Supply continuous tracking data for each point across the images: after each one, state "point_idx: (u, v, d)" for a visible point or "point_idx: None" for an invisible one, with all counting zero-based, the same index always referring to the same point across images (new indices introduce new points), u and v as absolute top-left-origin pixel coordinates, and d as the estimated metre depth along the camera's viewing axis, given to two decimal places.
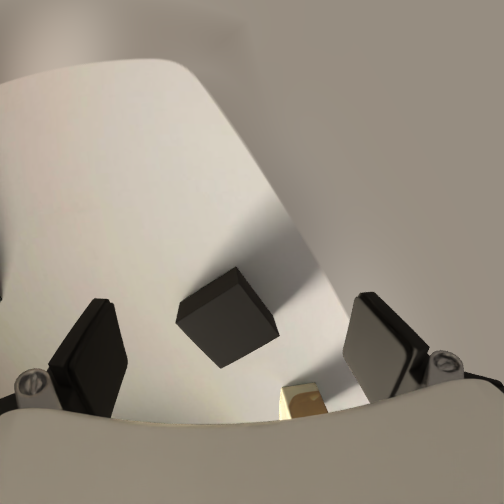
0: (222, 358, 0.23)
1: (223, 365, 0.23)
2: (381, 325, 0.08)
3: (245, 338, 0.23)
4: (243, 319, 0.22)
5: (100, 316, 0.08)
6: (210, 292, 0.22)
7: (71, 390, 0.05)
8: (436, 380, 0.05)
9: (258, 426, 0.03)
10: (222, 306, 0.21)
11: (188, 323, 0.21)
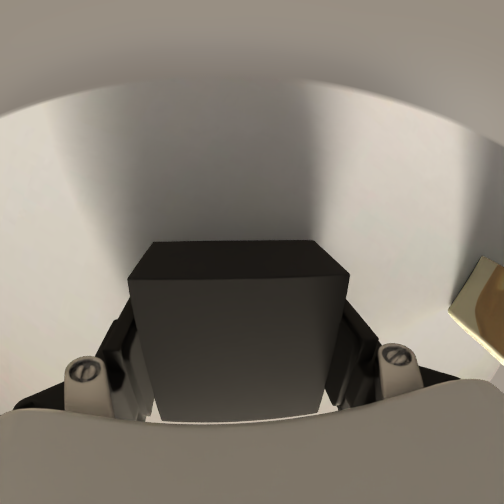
0: (298, 403, 0.09)
1: (315, 407, 0.09)
2: None
3: (291, 348, 0.08)
4: (233, 325, 0.08)
5: None
6: None
7: (124, 375, 0.06)
8: (390, 376, 0.06)
9: (258, 426, 0.03)
10: (168, 345, 0.08)
11: (174, 409, 0.09)
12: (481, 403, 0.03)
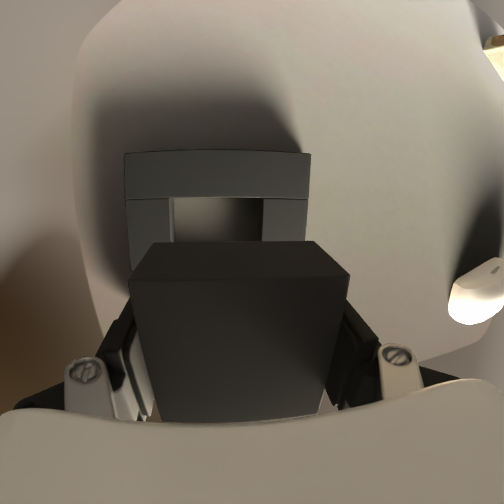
0: (298, 403, 0.09)
1: (315, 407, 0.09)
2: None
3: (291, 348, 0.08)
4: (233, 326, 0.08)
5: None
6: None
7: (124, 375, 0.06)
8: (390, 376, 0.06)
9: (258, 426, 0.03)
10: (168, 346, 0.08)
11: (174, 409, 0.09)
12: (481, 403, 0.03)
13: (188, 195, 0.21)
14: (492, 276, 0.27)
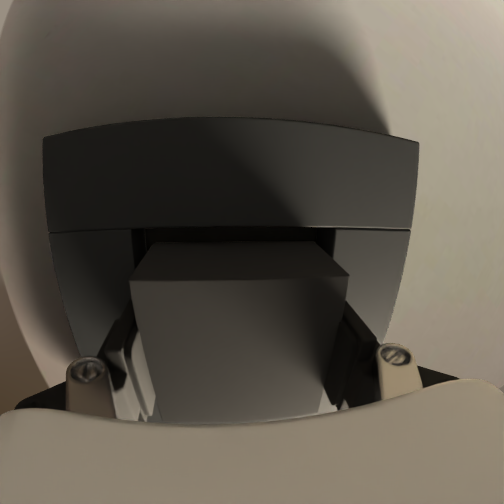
0: (298, 403, 0.09)
1: (315, 407, 0.09)
2: None
3: (291, 348, 0.08)
4: (233, 325, 0.08)
5: None
6: None
7: (126, 375, 0.06)
8: (389, 376, 0.06)
9: (258, 426, 0.03)
10: (169, 346, 0.08)
11: (174, 409, 0.09)
12: (481, 403, 0.03)
13: (171, 223, 0.09)
14: None
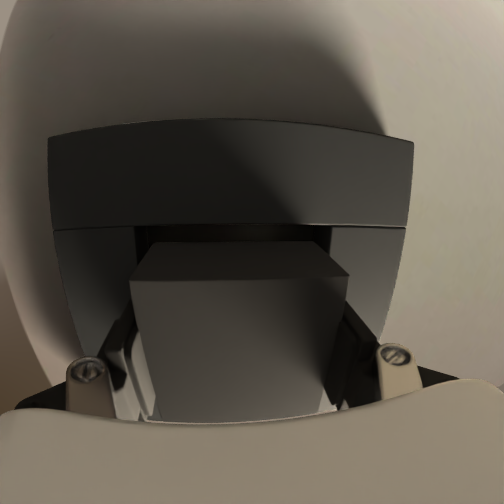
0: (298, 403, 0.09)
1: (315, 407, 0.09)
2: None
3: (291, 348, 0.08)
4: (233, 325, 0.08)
5: None
6: None
7: (126, 375, 0.06)
8: (389, 376, 0.06)
9: (258, 426, 0.03)
10: (169, 346, 0.08)
11: (174, 409, 0.09)
12: (481, 403, 0.03)
13: (173, 220, 0.10)
14: None
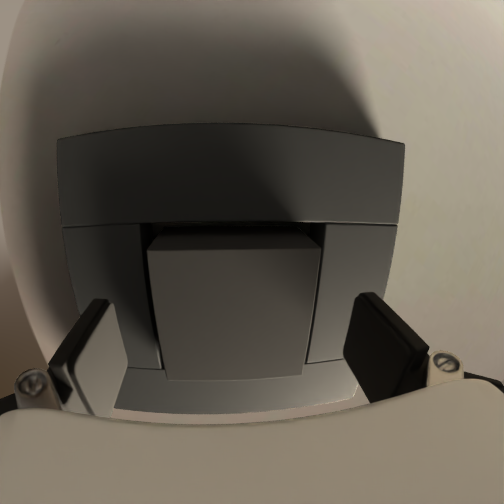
0: (284, 363, 0.11)
1: (299, 368, 0.12)
2: (381, 325, 0.08)
3: (275, 309, 0.11)
4: (228, 287, 0.10)
5: (100, 316, 0.08)
6: None
7: (71, 390, 0.05)
8: (436, 380, 0.05)
9: (258, 426, 0.03)
10: (176, 305, 0.10)
11: (178, 367, 0.11)
12: (481, 403, 0.03)
13: (176, 218, 0.10)
14: None
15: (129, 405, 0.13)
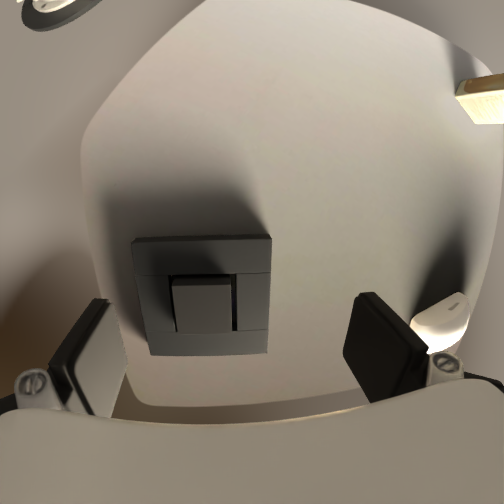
0: (223, 327, 0.30)
1: (230, 330, 0.31)
2: (381, 325, 0.08)
3: (216, 305, 0.29)
4: (199, 297, 0.29)
5: (100, 316, 0.08)
6: None
7: (71, 390, 0.05)
8: (436, 380, 0.05)
9: (258, 426, 0.03)
10: (181, 304, 0.29)
11: (182, 328, 0.30)
12: (481, 403, 0.03)
13: (181, 273, 0.29)
14: (449, 313, 0.34)
15: (158, 352, 0.32)
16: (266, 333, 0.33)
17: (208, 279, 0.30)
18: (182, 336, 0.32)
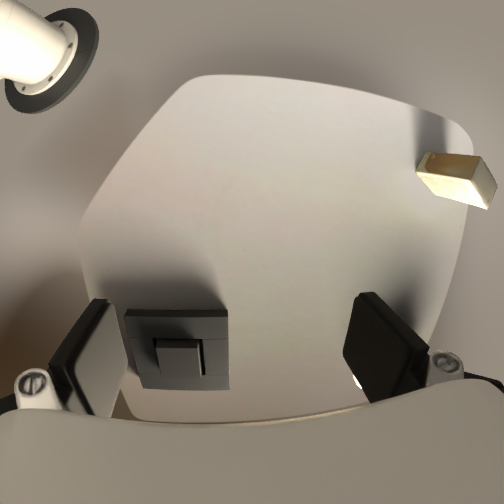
0: (194, 374, 0.39)
1: (199, 376, 0.39)
2: (381, 325, 0.08)
3: (188, 360, 0.38)
4: (175, 355, 0.37)
5: (100, 316, 0.08)
6: None
7: (71, 390, 0.05)
8: (436, 380, 0.05)
9: (258, 426, 0.03)
10: (163, 359, 0.37)
11: (165, 373, 0.38)
12: (481, 403, 0.03)
13: (162, 337, 0.38)
14: None
15: (148, 386, 0.41)
16: (228, 377, 0.41)
17: (182, 342, 0.38)
18: None
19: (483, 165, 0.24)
